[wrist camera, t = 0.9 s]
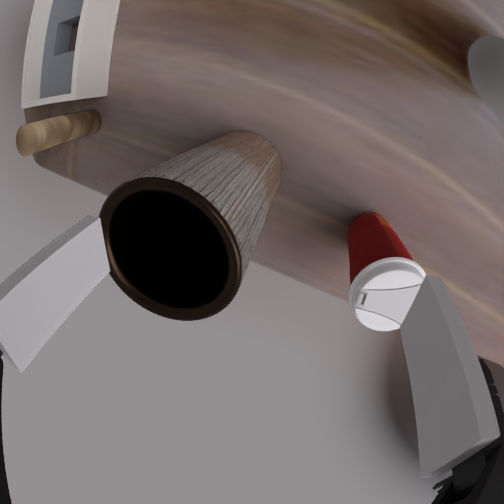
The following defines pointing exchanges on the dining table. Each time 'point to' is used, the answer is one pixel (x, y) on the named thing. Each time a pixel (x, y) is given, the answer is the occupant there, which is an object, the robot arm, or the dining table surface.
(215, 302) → the planter
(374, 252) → the coffee cup
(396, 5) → the dining table surface
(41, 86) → the box
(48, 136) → the dowel
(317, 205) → the dining table surface
